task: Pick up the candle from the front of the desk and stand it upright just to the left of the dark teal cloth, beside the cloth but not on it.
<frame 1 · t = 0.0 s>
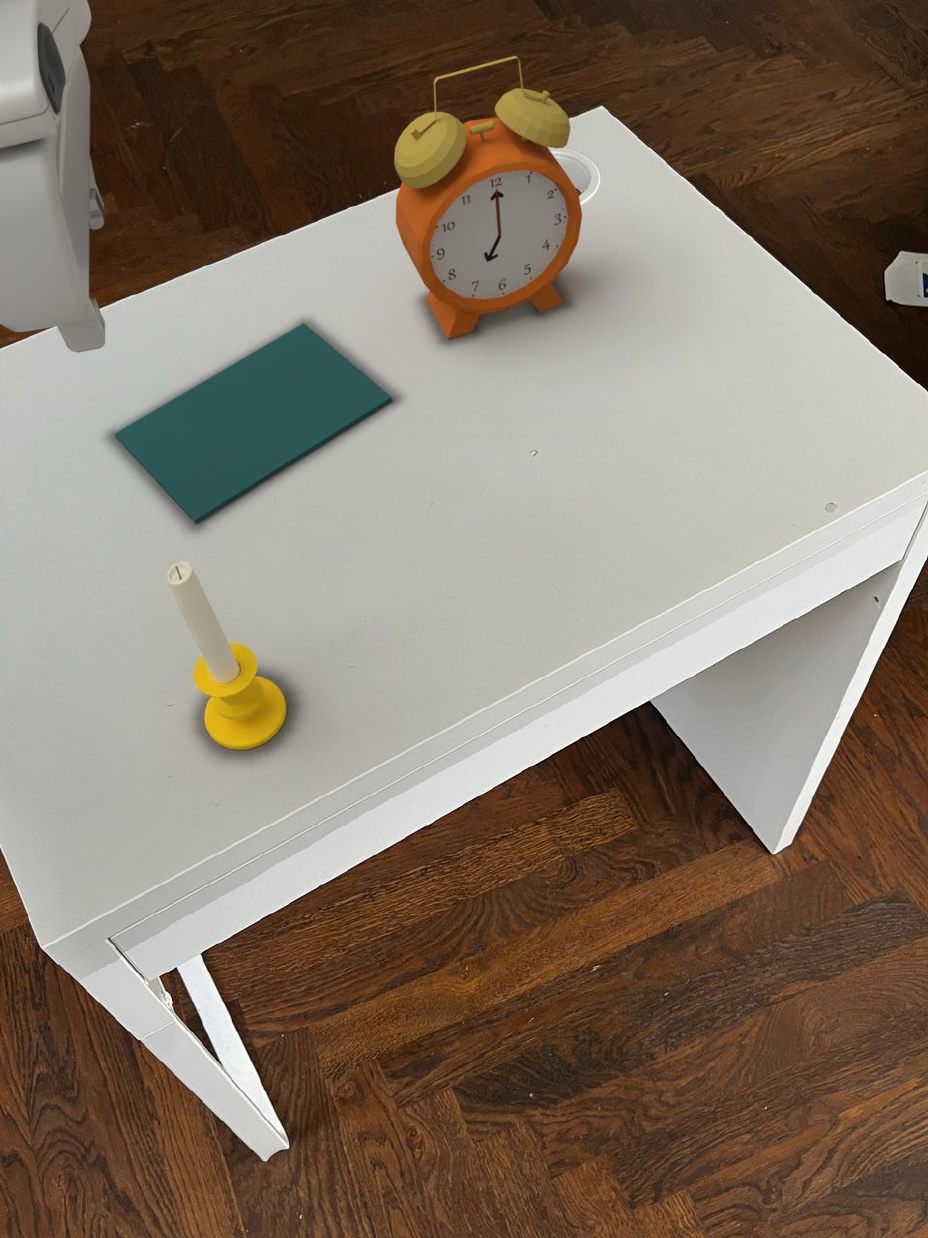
hand: (89, 279, 57), 27 cm above the table, tool pointing down, fingers open, 8 cm apart
candle: (247, 716, 74), on the table
alarm clock: (495, 305, 94), on the table
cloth: (253, 418, 89), on the table
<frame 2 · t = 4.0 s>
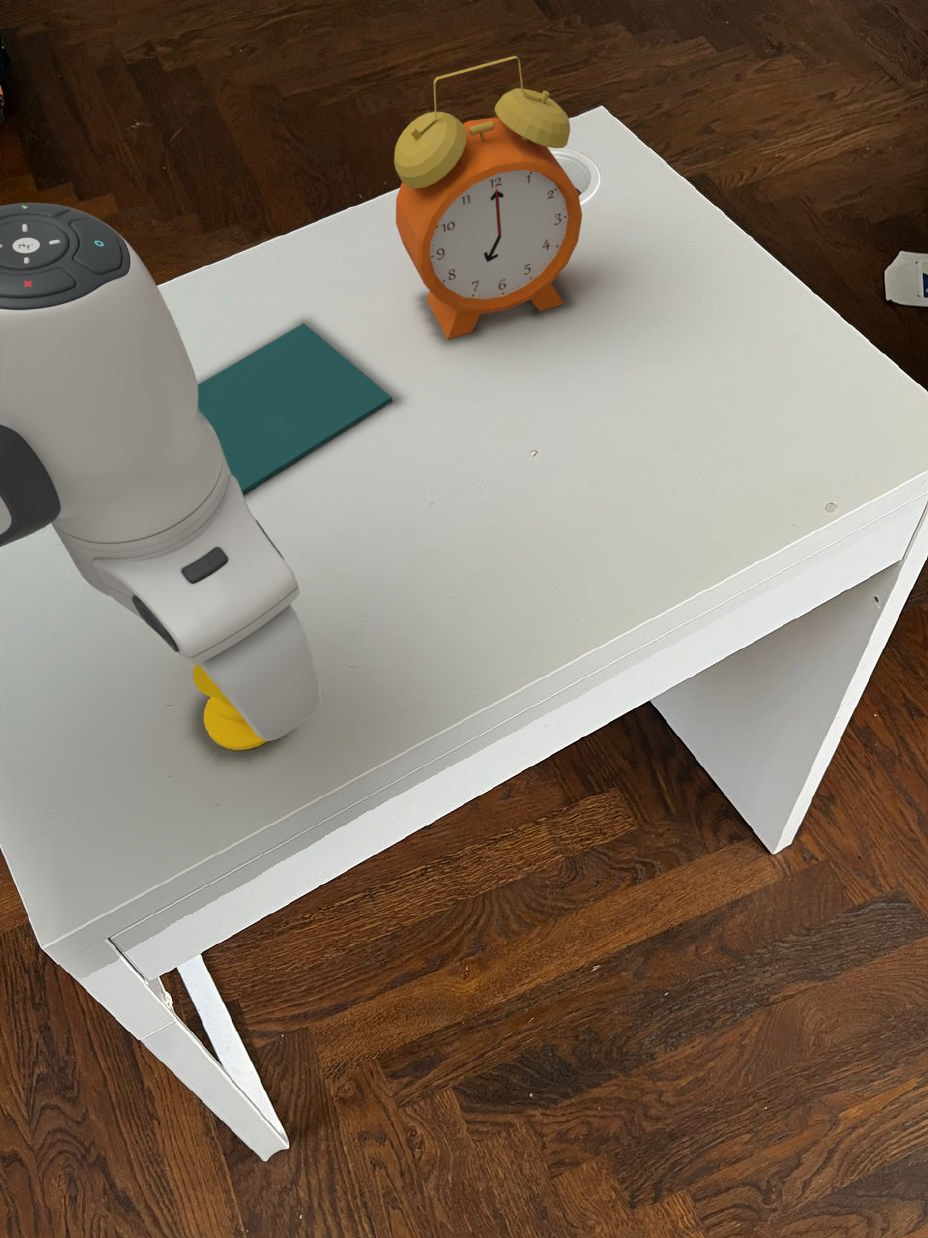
hand: (220, 662, 68), 6 cm above the table, tool pointing down, fingers closed on candle
candle: (246, 716, 74), on the table, touching gripper
everything else where it was.
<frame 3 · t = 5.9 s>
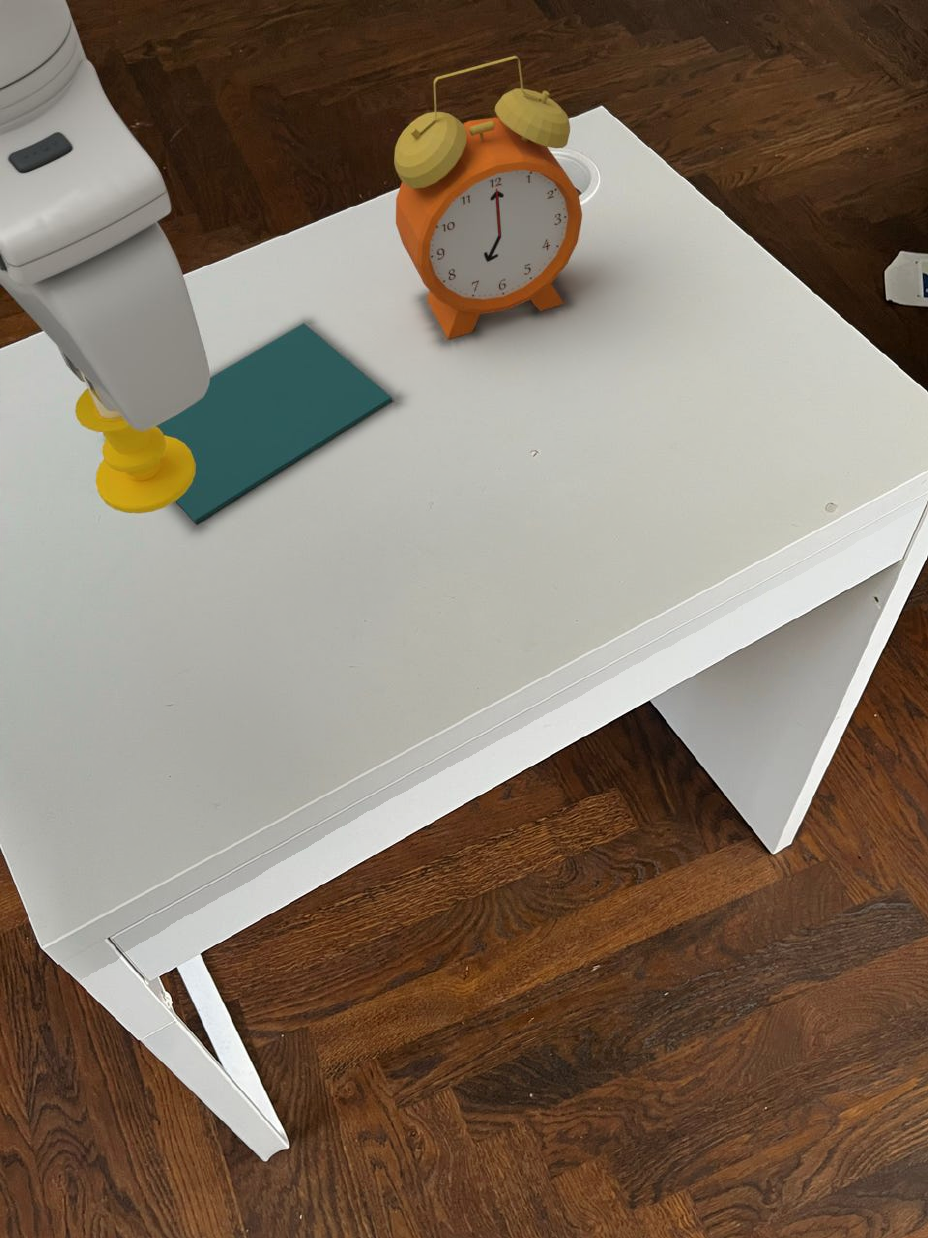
hand: (105, 384, 55), 25 cm above the table, tool pointing down, fingers closed on candle
candle: (148, 479, 61), point 18 cm above the table, touching gripper
everything else where it was.
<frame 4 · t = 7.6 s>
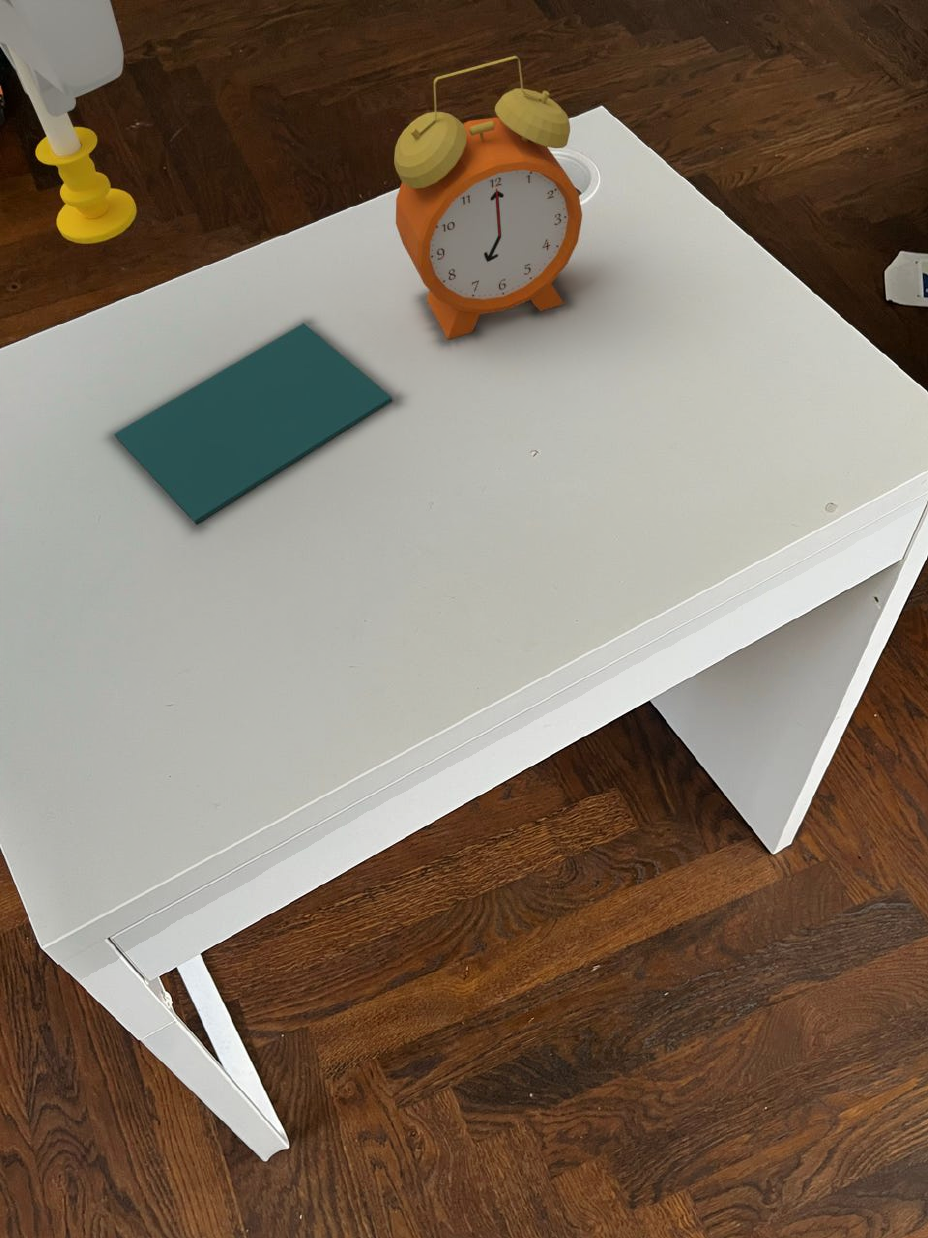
hand: (52, 102, 70), 26 cm above the table, tool pointing down, fingers closed on candle
candle: (99, 221, 76), point 18 cm above the table, touching gripper
everything else where it was.
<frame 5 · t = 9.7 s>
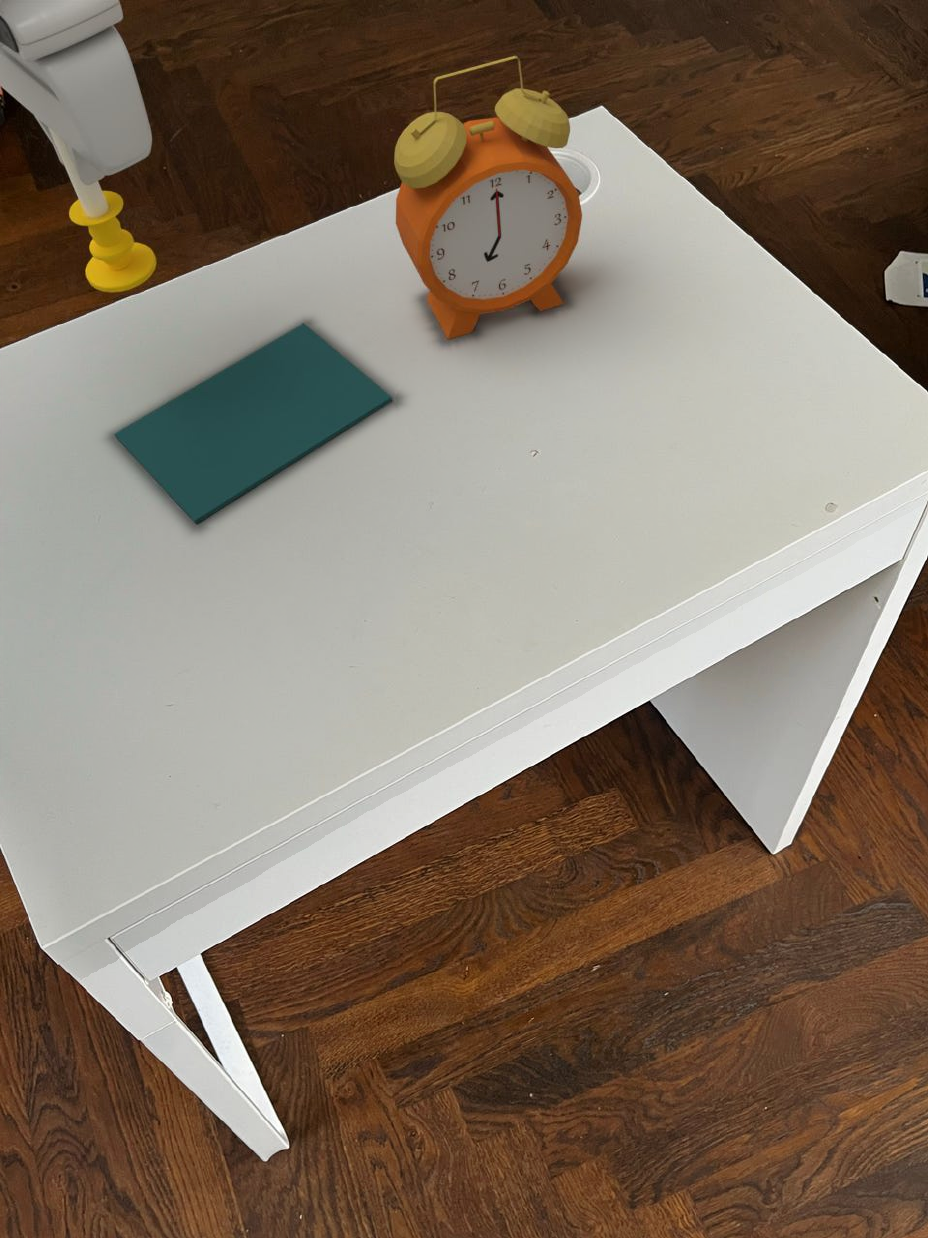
hand: (85, 171, 79), 17 cm above the table, tool pointing down, fingers closed on candle
candle: (123, 271, 85), point 9 cm above the table, touching gripper
everything else where it was.
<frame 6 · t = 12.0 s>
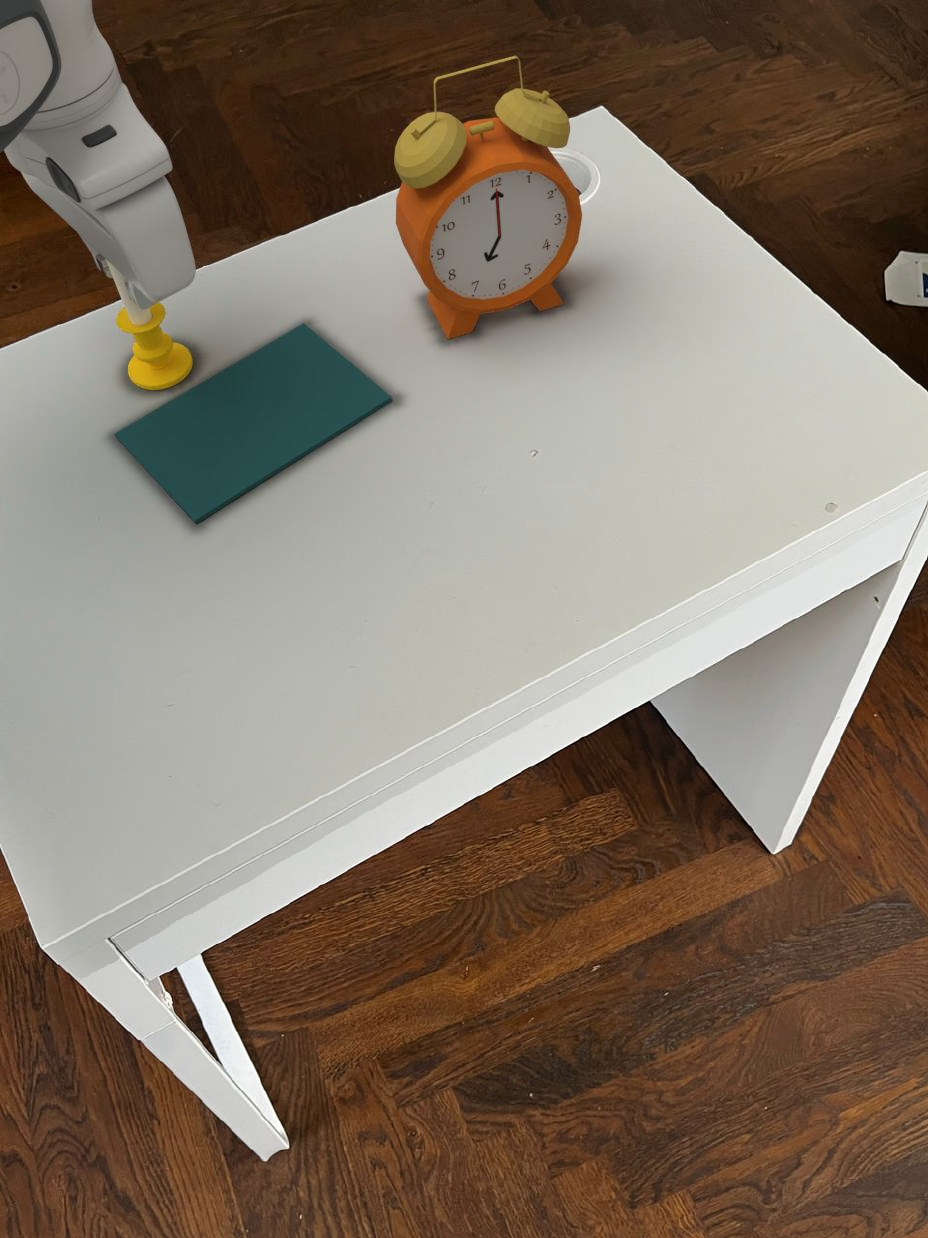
hand: (130, 286, 87), 8 cm above the table, tool pointing down, fingers open, 4 cm apart
candle: (162, 369, 93), on the table
everything else where it was.
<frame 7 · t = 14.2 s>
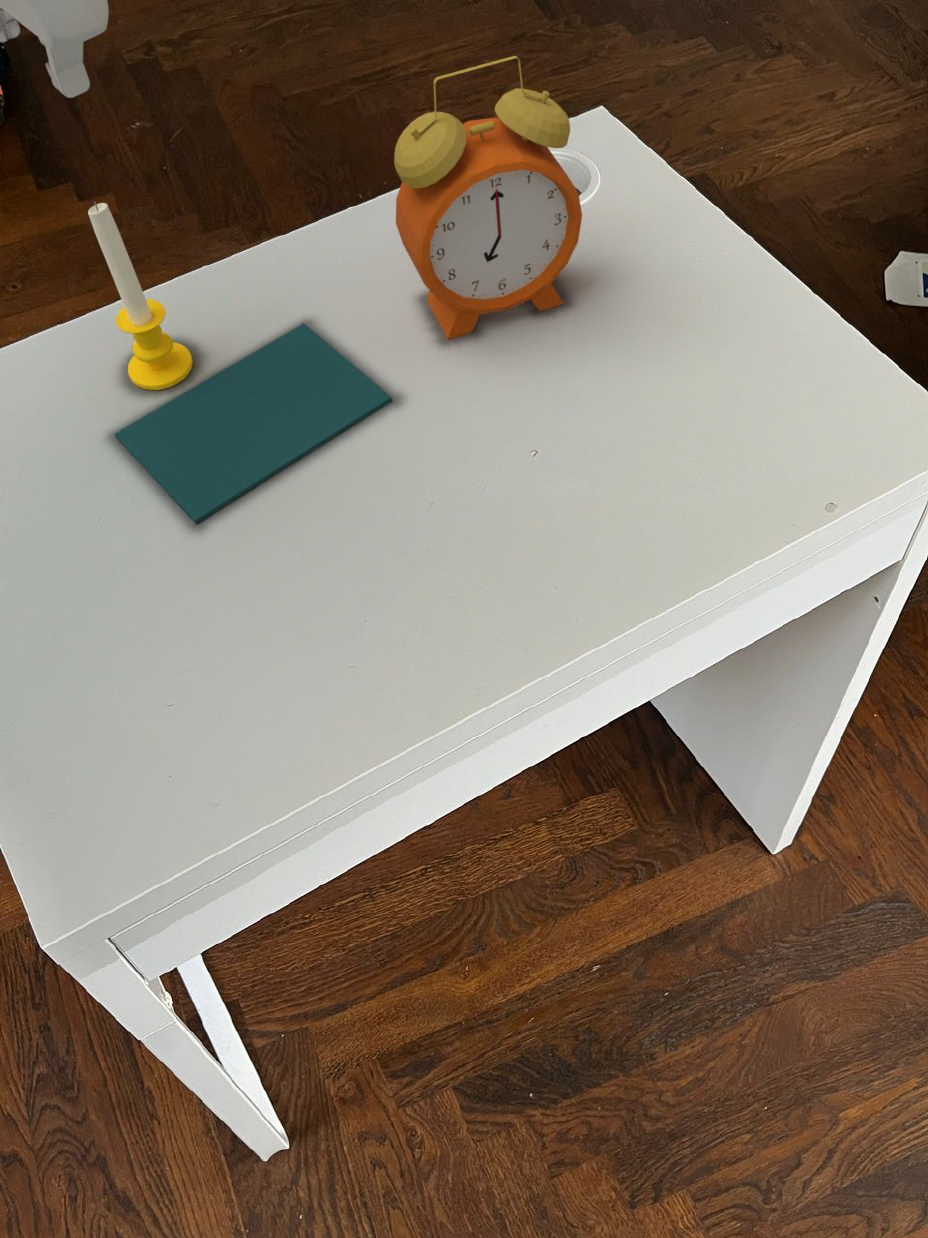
hand: (38, 62, 72), 26 cm above the table, tool pointing down, fingers open, 8 cm apart
nothing on the table moved.
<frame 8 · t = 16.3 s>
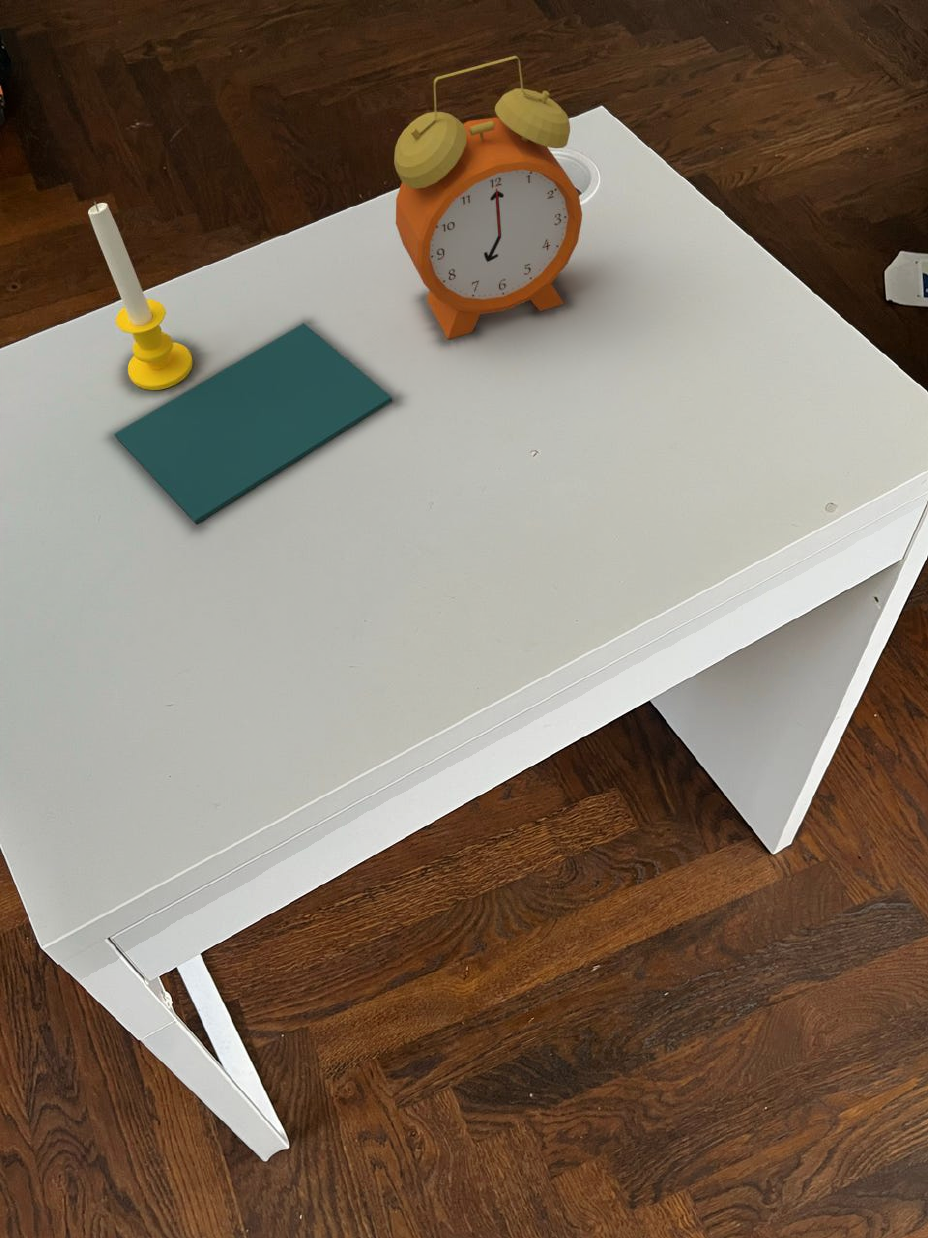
nothing on the table moved.
at the end: candle inside the target area on the table beside the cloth (2.5 cm from its centre), on the table; candle tilted 0°; the gripper is holding nothing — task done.
